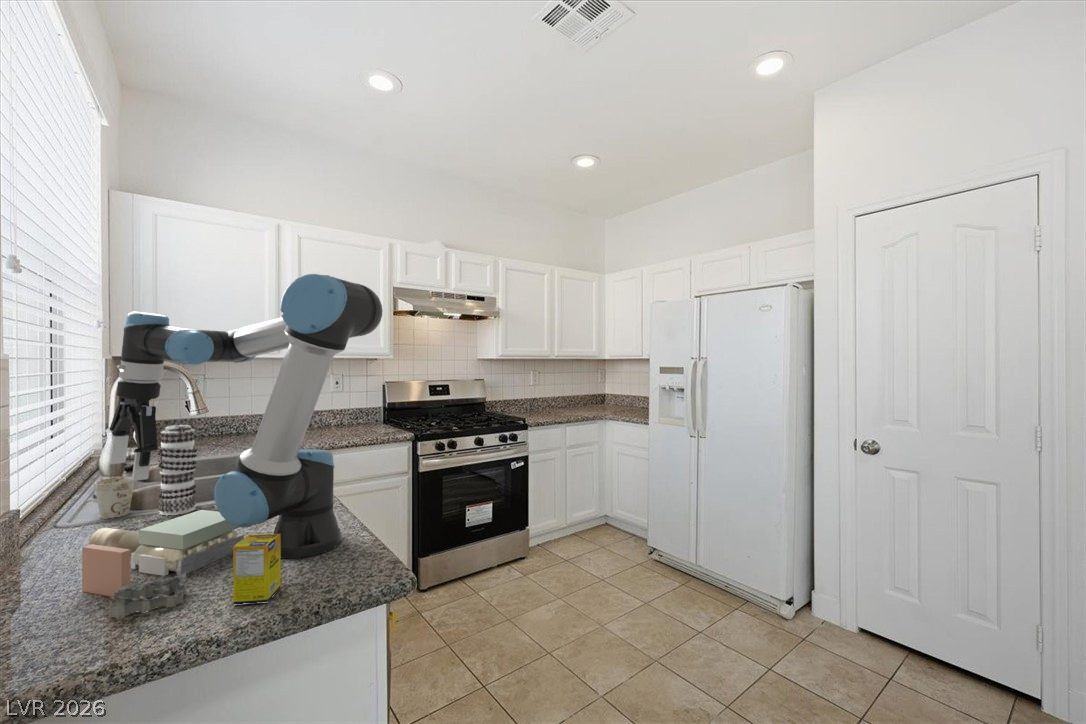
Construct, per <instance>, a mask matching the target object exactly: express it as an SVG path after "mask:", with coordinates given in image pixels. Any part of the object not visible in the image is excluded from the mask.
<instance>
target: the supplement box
mask: <svg viewBox="0 0 1086 724" xmlns="http://www.w3.org/2000/svg"><path fill="white" fill-rule="evenodd" d="M232 555H233V558H232V561H233V563H232V568H233V569H232V574H233V575H232V577H233V578H232V580H233V583H232V584H233V586H232V588H233V589H232V590H233V593H232V595H233V605H234V604H243V603H257V602H267V601H269V600H270V599H271V598H272V596H273V595H274V594H275V593H276V592H277V591H278V590H279V589H281V588H282V587H281V585H282V584H281V583H282V582H281V576H282V575H281V574H282V573H281V571H282V569H281V567H282V565H281V564H282V563H281V539H280V534H274V533H271V534H270V533H265V534H264V533H263V534H248V535H246V537H245V536H244V539H243V540H242V541H240V542H239V543H237V544H236V545H235V546H234V547H233V553H232ZM279 591H280V590H279ZM279 591H278V592H279ZM278 592H277V593H278ZM277 593H276V594H277ZM276 594H275V595H276ZM275 595H274V596H275ZM272 599H273V598H272ZM272 599H271V600H272ZM271 600H270V601H271ZM270 601H269V602H270Z"/></svg>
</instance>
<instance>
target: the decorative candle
mask: <svg viewBox="0 0 1086 724" xmlns="http://www.w3.org/2000/svg"><path fill="white" fill-rule="evenodd" d="M195 431H196V429H194V428H193V427H192V426H191V425H190V424H173V425H168V426H166V427H165V428H164V429H163V431H160V433H161V442H160V445H159V446H158V445H157V447H158V449H157V450H158V451H157V455H158V456H160V457H159V458H158V461H157V462H158V468H159V469H160V470H159V475H161V476H160V477H161V478H160V479H161V482H160V488H159V491H158V492H159V493H160V494H159V495H158V498H159V499H160V500H159V501H158V505H159V507H158V510H159V512H160V513H158V514H161V515H160V516H162V515H166V517H167V516H168V515H172V516H178V515H179V514H180V515H183V514H184V515H185V514H189V513H192V512H194V511H195V510H196V503H197V502H196V499H197V497H196V496H195V495H194V494H196V488H197V486H196V485H197V484H195V477H194V472H195V471H196V469H197V466H195V465H196V464H197V461H195V460H194V459H195V458H197V457H198V454H196V452H197V451H198V449H196V448H194V446H195V445H196V443H195V437H194V436H195V435H194V434H195ZM194 509H195V510H194ZM168 517H169V516H168Z"/></svg>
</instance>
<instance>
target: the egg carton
mask: <svg viewBox="0 0 1086 724" xmlns="http://www.w3.org/2000/svg"><path fill="white" fill-rule="evenodd" d="M186 580H187V574H186V573H183V574H181V575H179V576H177V575H174V576H173V577H167V578H166V579H163V578H161V577H160V578H158V579H156V580H150V581H145V582H137V583H136V582H131V584H127V585H125V586H123V587H122V588H120V589H118V590H117V591H116V592H115V593H114V595H113V596H112V597H108V606H109V614H108V615H109V617H116V619H117V618H119V619H122V618H121V617H124V618H126V617H127V616H129V615H131V614H130V613H132V612H135V613H137V612H136V611H141V612H140V613H142V614H144V613H143V612H146V611H150V610H151V611H153V610H154V609H153V608H155V609H157V608H156V607H158V608H161V607H160V606H165V607H164V608H166V607H170V608H173V607H172V606H174V607H175V606H176V605H178V604H180V603H183V602H184V595H185V594H186ZM172 593H174V595H170V594H172ZM151 597H152V598H151ZM149 598H151V599H149ZM152 609H153V610H152ZM151 611H150V612H151ZM146 613H147V612H146ZM128 614H129V615H128ZM132 614H133V613H132ZM126 615H127V616H126ZM125 616H126V617H125Z"/></svg>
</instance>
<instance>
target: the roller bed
mask: <svg viewBox="0 0 1086 724" xmlns="http://www.w3.org/2000/svg"><path fill="white" fill-rule="evenodd" d="M244 538H245V534H244V533H243V534H242V533H239V534H238V533H237V532H236V531H235V530H232V531H229V532H227V533H224V534H221V535H219V536H216V537H214V538H211V539H209V540H206V541H204V542H201V543H199V544H196V545H193V546H191V547H188V548H186V549H183V550H182V549H174V548H167V547H159V546H152V545H144V544H141V545H140V546H139V547H138V548H137V549H136V551H135V552H133V553H130V570H131V569H132V570H137V569H139V555H141V554H143V555H150V556H157V557H164V558H167V561H166V566H167V568H168V569H169V572H175V573H176V576H179V575H181V574H183V573H186V575H187V574H189V573H191V572H193V571H196V570H197V569H200V568H203V567H205V566H207V565H209V564H211V563H213V562H217V561H218V560H221V559H223V558H225V557H227V556H229V555H231V554H232V555H233V547H234V546H235V545H236V544H237V543H239V542H240V541H242V540H243V539H244Z"/></svg>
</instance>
